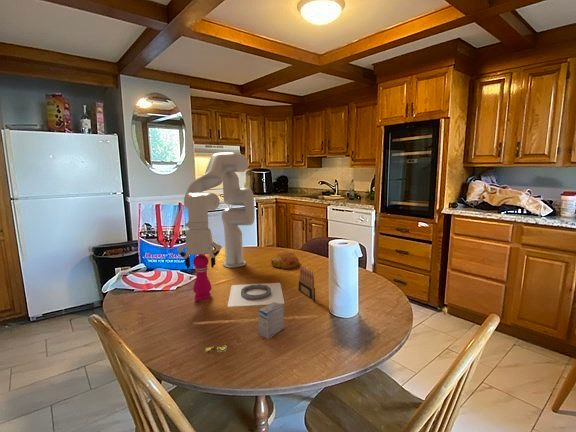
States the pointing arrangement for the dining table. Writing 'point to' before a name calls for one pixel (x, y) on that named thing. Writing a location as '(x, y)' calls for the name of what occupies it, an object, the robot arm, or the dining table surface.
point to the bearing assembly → (221, 349)
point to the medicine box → (271, 319)
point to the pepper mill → (201, 278)
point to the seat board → (238, 300)
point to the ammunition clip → (306, 283)
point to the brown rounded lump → (285, 260)
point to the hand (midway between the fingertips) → (200, 267)
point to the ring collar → (256, 297)
